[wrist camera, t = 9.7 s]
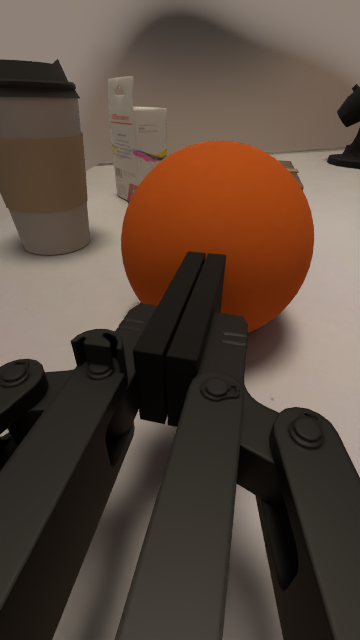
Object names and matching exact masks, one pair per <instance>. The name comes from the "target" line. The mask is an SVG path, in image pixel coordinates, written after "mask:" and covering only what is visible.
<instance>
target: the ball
mask: <svg viewBox="0 0 360 640" xmlns="http://www.w3.org/2000/svg"><path fill="white" fill-rule="evenodd" d="M313 246H314V225H313V220H312V214H311V210H310V207H309V204H308V201H307V199H306V197H305V195H304V193H303V191H302V189H301V187H300V185H299V183H298V182H297V181H296V179H295V178H294V177H293V175H292V174H291V173H290V172H289V171H288V170H287V169H286V168H285V167H284V166H283V165H282V164H281V163H280V162H279V161H278V160H276V159H275V158H273V157H272V156H270V155H269V154H267V153H266V152H264V151H262V150H259V149H257V148H255V147H252V146H250V145H246V144H243V143H238V142H232V141H208V142H203V143H199V144H195V145H191V146H188V147H185V148H183V149H181V150H179V151H177V152H175V153H173V154H171V155H170V156H168V157H167V158H165V159H164V160H162V161H161V162H160V163H158V164H157V165H156V166H155V167H154V168H153V169H152V170H151V171H150V172H149V173H148V174H147V175H146V176H145V178H144V179H143V180H142V182H141V183H140V184H139V186H138V187H137V189H136V191H135V192H134V194H133V196H132V198H131V200H130V202H129V205H128V207H127V210H126V213H125V217H124V221H123V227H122V235H121V251H122V258H123V264H124V268H125V271H126V275H127V277H128V280H129V282H130V285H131V287H132V289H133V290H134V292H135V294H136V296H137V297H138V299H139V300H140V301H141V302H142V303H143V304H151V305H158V304H159V302H160V300H161V299H162V297H163V295H164V293H165V291H166V290H167V288H168V286H169V284H170V283H171V281H172V279H173V277H174V275H175V274H176V272H177V270H178V268H179V266H180V265H181V263H182V261H183V259H184V258H185V256H186V254H187V252H188V251H191V252H202V253H206V257H207V255H208V253H212V254H222V255H226V263H225V273H224V283H223V293H222V303H221V311H220V313H225V314H233V315H240V316H243V317H244V319H245V320H246V322H247V324H248V332H250V331H253V330H255V329H257V328H259V327H261V326H263V325H264V324H266V323H268V322H269V321H271V320H272V319H273V318H275V317H276V316H277V315H278V314H280V313H281V312H282V311H283V310H284V309H285V308H286V307H287V306H288V305H289V303H290V302H291V301H292V299H293V298H294V297H295V295H296V294H297V293H298V291H299V289H300V287H301V285H302V284H303V282H304V280H305V277H306V275H307V272H308V270H309V267H310V263H311V259H312V255H313ZM206 257H205V260H206Z"/></svg>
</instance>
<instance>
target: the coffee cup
mask: <svg viewBox="0 0 360 640" xmlns="http://www.w3.org/2000/svg"><path fill="white" fill-rule="evenodd" d="M75 89H76V87H75V84H74V83H72V82H68V80H67V78H66V76H65V74H64V71H63V69H62V67H61V65H60V63H59V60H58V59H57V60H56V61H55V62H54V63H53V64H50V63H42V62H32V61H18V60H0V193H1V195H2V198H3V200H4V202H5V205H6V207H7V208H8V209H9V211H10V213H11V216H12V218H13V221H14V223H15V226H16V228H17V231H18V233H19V236H20V238H21V241H22V243H23V246H24V248H25V250H27V251H28V252H30V253H34V254H39V255H58V254H65V253H70V252H73V251H76V250H79V249H81V248H83V247H85V246H86V245H87V244H88V243H89V242H90V235H89V223H88V211H87V200H88V199H87V186H86V172H85V159H84V146H83V133H82V132H81V130H80V119H79V107H78V98H80V97H79V96H78V94H77V93H76V91H75Z"/></svg>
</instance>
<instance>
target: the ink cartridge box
mask: <svg viewBox="0 0 360 640" xmlns="http://www.w3.org/2000/svg"><path fill="white" fill-rule="evenodd" d="M120 87H121V88H122V89H124V95H116V90H117V89H119V88H120ZM108 95H109V118H110V128H111V137H112V147H113V157H114V168H115V178H116V188H117V195H118V196H120V197H121V198H123V199H125V200H127V201H129V202H130V200H131V198H132V196H133V194H134V192H135V191H136V189H137V187H138V186H139V184H140V183H141V182H142V180H143V179H144V178H145V176H146V175H147V174H148V173H149V172H150V171H151V170H152V169H153V168H154V167H155V166H156V165H157V164H158V163H160V162H161V161H162V160H164V159H165V158H167V115H166V114H167V112H166V108H150V107H133V103H134V101H133V100H134V78H133V76H129V77H119V78H114V79H109V80H108Z"/></svg>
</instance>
